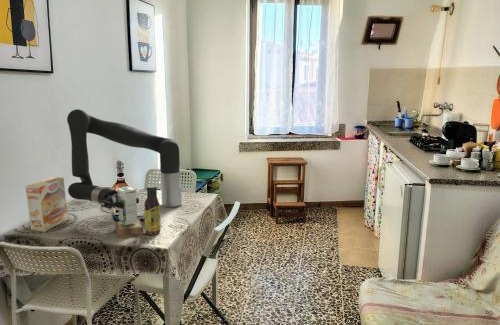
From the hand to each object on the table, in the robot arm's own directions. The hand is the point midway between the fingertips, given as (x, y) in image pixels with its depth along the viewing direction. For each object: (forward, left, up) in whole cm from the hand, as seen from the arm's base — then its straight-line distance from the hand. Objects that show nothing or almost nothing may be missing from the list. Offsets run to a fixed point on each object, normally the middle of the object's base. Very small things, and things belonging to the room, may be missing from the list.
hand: (130, 203), depth 152 cm
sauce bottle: (-8, +3, -13) cm, 15 cm away
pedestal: (+1, -2, -13) cm, 13 cm away
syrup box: (+1, -2, -9) cm, 9 cm away
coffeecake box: (+32, -23, -13) cm, 41 cm away
